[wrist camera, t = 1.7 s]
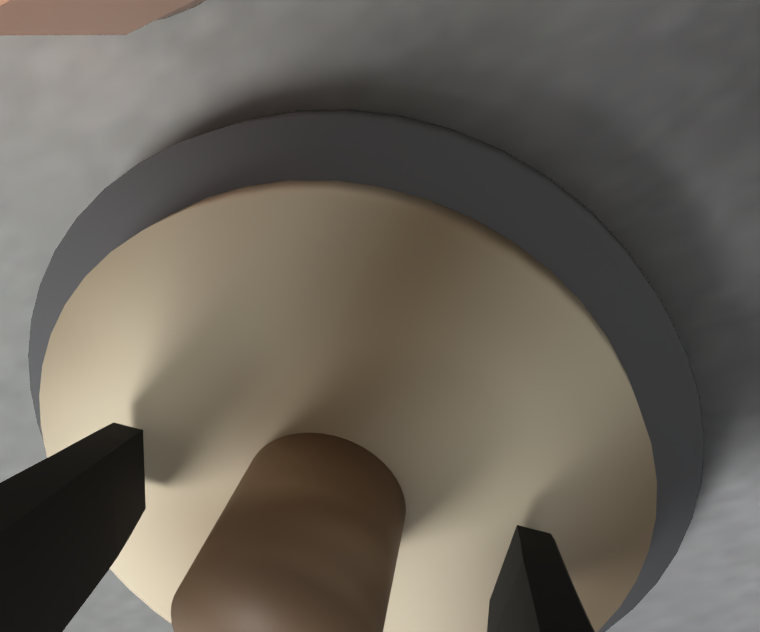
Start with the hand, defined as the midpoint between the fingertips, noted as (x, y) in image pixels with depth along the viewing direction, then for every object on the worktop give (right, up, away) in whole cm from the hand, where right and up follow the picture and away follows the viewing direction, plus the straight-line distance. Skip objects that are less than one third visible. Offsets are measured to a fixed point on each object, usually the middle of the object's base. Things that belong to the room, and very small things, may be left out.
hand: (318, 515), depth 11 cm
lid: (0, +1, +1) cm, 1 cm away
